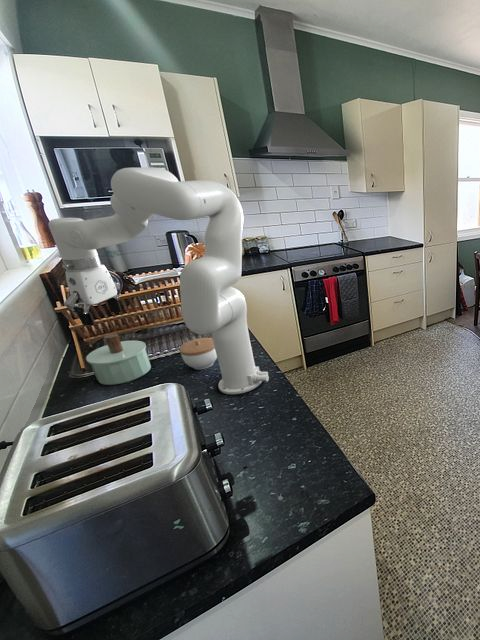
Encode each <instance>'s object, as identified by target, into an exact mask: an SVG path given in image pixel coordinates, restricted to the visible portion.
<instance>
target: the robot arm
mask: <svg viewBox="0 0 480 640" xmlns="http://www.w3.org/2000/svg"><path fill="white" fill-rule="evenodd" d="M110 188H111V191H112V195H111V197H110V198H109V199H110V201H109V202H110V205H111V208H112V210H113V211H114V213H115V214H112V215H110V216H104V217H98V218H96V217H95V218H90V219H83V218H80V217H58V218H53V219H51V220H49V221H48V228H49V231H50V233H51V236H52V238H53V240H54V243H55V246H56V248H57V251H58V253H59V256H60V258H61V261H62V263H63V264H62V265H61V267H62V268H63V269H64V270H65V273H64V274H65V279H66V284H67V288H68V291H69V294H70V295H69V296H68V298H67V299H66V300H64V302H63V306H65V307H66V308H68V309H69V311H71V312H73V313H74V314H77V315H78V317H79V319H80V322H81V324H82V325H83V326H90V327H91V326H92V327H93V326H95V325H96V321H95V319H94V317H93V314H92V313H91V312H90V307H91V306H96V305H98V304H100V303H102V302H104V301H106V303H107V305H108V309H109V311H110V313H122V312H123V309H122V306H121V304H120V301H119V300H120V298H121V297H120V293H121V283H120V282H115V281H114V280H113V277H112V276H111V274H110V272H109V270H108V269H107V267H106V266H105V264H103V263H102V261H101V260H100V257H99V254H98V249H99V250H100V249H103V248H107V247H110V246H115V245H120V244H124V243H127V242H130V241H131V240H133V239H135V238H136V237H138V236H139V235H140V234H142V233H143V232H145V230H146V229H147V228H148V224H149V219H151V218H153V217H154V216H155V215H157V216H160V217H163V218H167V219H171V220H175V221H190V220H195V219H200V218H205V217H209V221H208V224H207V226H206V229H205V232H204V253H203V255H202V256H201V257H199V258H197V259H193V260H190V262H188V263H186V264H185V266H183V268H182V269H181V272H180V275H179V294H180V309H181V316H182V320H183V323H184V325H185V326H186V328H187V329H189V330H190V331H191V332H192V333H194V334H196V335H201V336H206V335H210V334H211V338H212V339H213V343H214V347H215V351H216V355H217V359H216V360H217V362H218V366H219V370H220V374H221V379H220V380H219V381H218V385H217V386H218V390H219V391H220V392H221V393H223V394H226V395H241V394H245V393H248V392H250V391H252V390H254V389H256V388H257V387H259V386H260V385H261V384H262V382H269V379H270V376H269V372H268V371H261V370H260V366H256V363H255V358H254V355H253V354H254V353H253V348H252V344H251V339H250V333H249V328H248V319H247V313H248V308H247V301H246V298H245V296H244V294H243V293H242V292H241V291H240V290H239V289H237V288H235V287H232V286H234V285H236V284H237V283H238V282H239V281H240V279H241V277H242V265H243V264H242V263H243V262H242V261H243V260H242V259H243V227H244V213H243V208H242V205H241V204H242V203H241V202H240V200H239V198H238V197H237V196H236V194H235V193H234V192H233V191H232V189H230V188H229V187H228V186H226V185H225V184H223V183H221V182H218V181H216V180H209V179H198V180H196V179H195V180H194V179H193V180H185V181H184V180H183V181H179V179H178V177H176V176H175V175H174V174H173V173H172V172H171V171H168V170H166V169H164V168H160V167H149V166H148V167H123V168H120V169H118V170H117V171H115V173H113V175H112V177H111V179H110Z"/></svg>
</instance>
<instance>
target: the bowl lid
mask: <svg viewBox="0 0 480 640" xmlns="http://www.w3.org/2000/svg"><path fill="white" fill-rule="evenodd" d="M103 338H104V341H105V343H106V345H103V346H101V347H98V348H96V349H94V350H93V351H91V352H89V353H88V354H87V355H86V357H85V360H86V362H87V363H88V364H89V365H90V364H94V365H105V364H112V363H117V362H121V361H124V360H127V359H130V358H133V357H135V356H137V355H139V354H140V353H142V352H143V351H144V350H147V344H146V343H145V342H144V341H142V340H123V341H121V340H120V337H119V334H118V333H109V334H106V335H104V337H103Z"/></svg>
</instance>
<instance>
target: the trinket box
mask: <svg viewBox="0 0 480 640" xmlns="http://www.w3.org/2000/svg"><path fill="white" fill-rule="evenodd" d="M178 352H179V354H180V356H181V358H182V361H183V362H184V364H185V365H187V366H188V367H190V368H192V369H194V370H199V371H200V370H204V369H208V368H210V367H212V366H213V365H214V364H215V362H216V361H217V360H218V359H217V355H216V351H215V347H214V343H213V339H212V337H201V338H195V339H192V340H188V341H186V342H184V343H182V344H181V345H180V346H179V347H178Z"/></svg>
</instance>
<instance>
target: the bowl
mask: <svg viewBox="0 0 480 640" xmlns="http://www.w3.org/2000/svg"><path fill="white" fill-rule="evenodd" d="M89 365H90V367H91V369H92V373H93V375H94V377H95V378H96V380H97V382H98V383H99V384H102V385H106V386H107V385H109V386H111V385H119V384H124V383H128V382H131V381H134V380H137V379H139V378H141V377H142V376H144V375H146V374H147V373H148V372H149V371H150V370H151V368H152V365H151V360H150V358H149V355H148V352H147V349H145V350H144V351H143V352H142V353H140V354H139V355H137V356H135V357H133V358H130V359H127V360H124V361H121V362H117V363H112V364H105V365H94V364H90V363H89Z"/></svg>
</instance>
